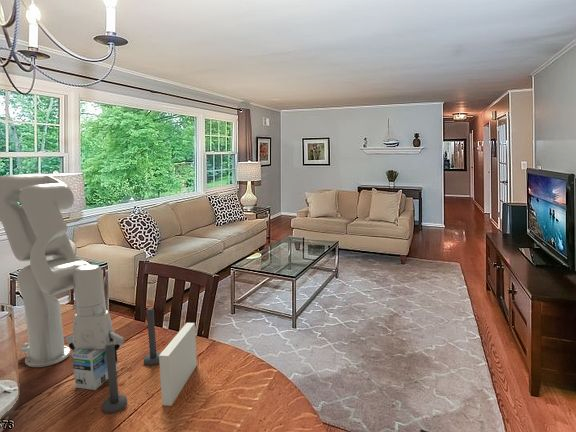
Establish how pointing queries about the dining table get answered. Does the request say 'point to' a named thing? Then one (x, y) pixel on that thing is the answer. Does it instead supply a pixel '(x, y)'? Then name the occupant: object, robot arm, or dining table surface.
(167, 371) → the breaker panel
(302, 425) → the dining table surface
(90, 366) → the light bulb box
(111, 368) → the post
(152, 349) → the cord post
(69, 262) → the robot arm
